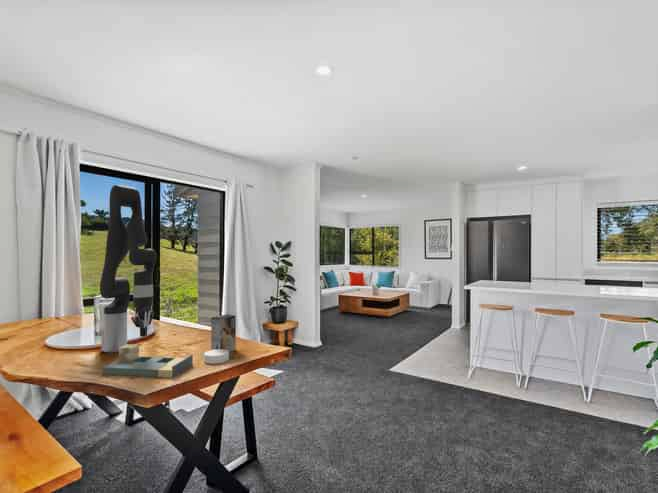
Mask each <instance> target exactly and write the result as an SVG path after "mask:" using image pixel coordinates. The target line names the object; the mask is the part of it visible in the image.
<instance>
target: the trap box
mask: <svg viewBox="0 0 658 493" xmlns="http://www.w3.org/2000/svg"><path fill="white" fill-rule="evenodd" d="M193 357H194V356H193V354H190V355H188V356H187V357H169V356H167V357H164V356H163V357H162V356H144V355H143V356H140V355H139V357H138V358H136V359H134V360H132V361H119V359H118V360H115V361H113V362H112V363H109V364H107V365H104V366H103V367H102V371H101V372H102V375H112V374H117V375H116V376H133V375H139V376H138V377H154V376H156V378H175V377H177V376H178V375H179V374H181V373H182V372H184V371H185V370H186V369H188V368H190V367H191V366H193V365H194V364H193V363H194V362H193Z"/></svg>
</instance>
